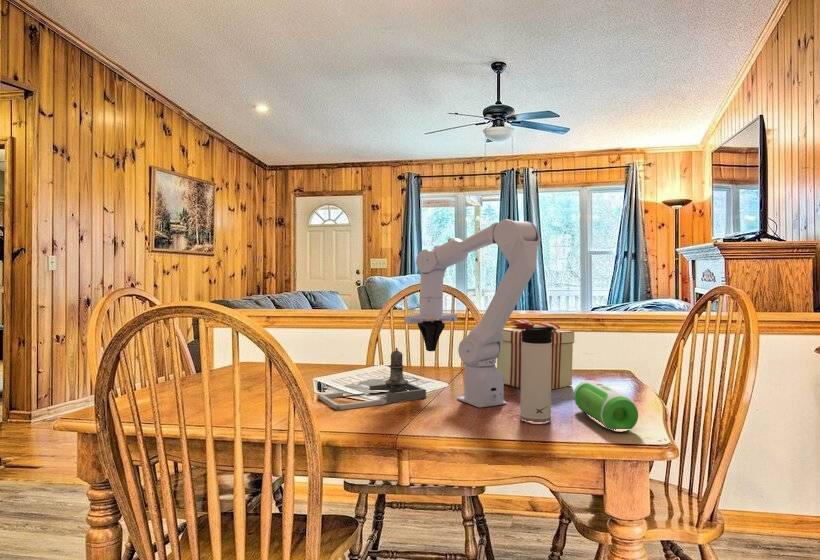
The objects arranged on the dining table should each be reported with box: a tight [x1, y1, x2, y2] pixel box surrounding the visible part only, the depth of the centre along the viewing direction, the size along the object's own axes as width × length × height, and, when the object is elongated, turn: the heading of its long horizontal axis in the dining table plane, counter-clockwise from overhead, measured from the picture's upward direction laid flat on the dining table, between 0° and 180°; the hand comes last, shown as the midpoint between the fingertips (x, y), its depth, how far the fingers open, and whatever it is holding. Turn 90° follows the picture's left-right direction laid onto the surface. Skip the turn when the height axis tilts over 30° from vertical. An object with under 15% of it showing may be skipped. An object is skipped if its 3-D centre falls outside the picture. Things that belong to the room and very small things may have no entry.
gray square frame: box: [318, 391, 386, 411], centre depth 136 cm, size 12×12×1 cm
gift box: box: [496, 319, 575, 390], centre depth 157 cm, size 17×18×17 cm
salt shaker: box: [384, 347, 409, 393], centre depth 142 cm, size 6×6×12 cm
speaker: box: [573, 379, 639, 430], centre depth 120 cm, size 18×7×8 cm, turn 5°
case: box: [368, 382, 427, 404], centre depth 142 cm, size 10×10×2 cm
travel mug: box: [519, 326, 554, 422], centre depth 120 cm, size 6×7×20 cm
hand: (430, 350), depth 147 cm, fingers closed
